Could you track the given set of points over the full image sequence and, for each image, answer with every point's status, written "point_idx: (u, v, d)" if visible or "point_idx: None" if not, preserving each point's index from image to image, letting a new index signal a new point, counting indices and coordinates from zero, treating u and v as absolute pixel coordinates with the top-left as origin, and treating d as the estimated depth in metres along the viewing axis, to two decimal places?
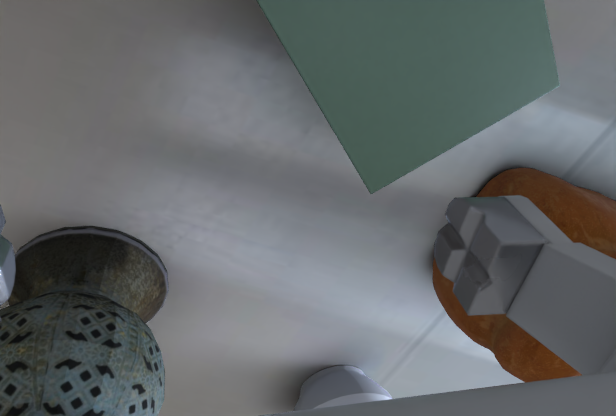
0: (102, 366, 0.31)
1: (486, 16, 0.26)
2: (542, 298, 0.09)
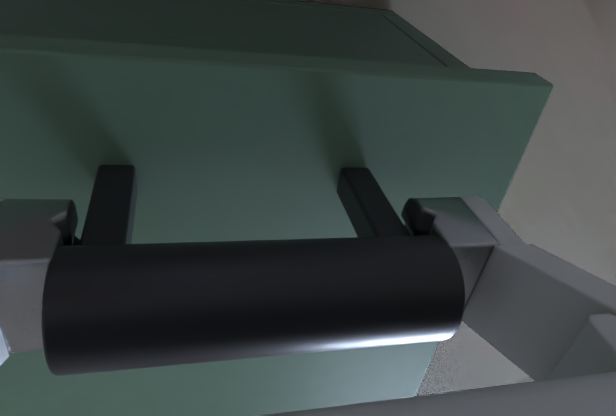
0: None
1: (335, 385, 0.16)
2: (494, 301, 0.08)
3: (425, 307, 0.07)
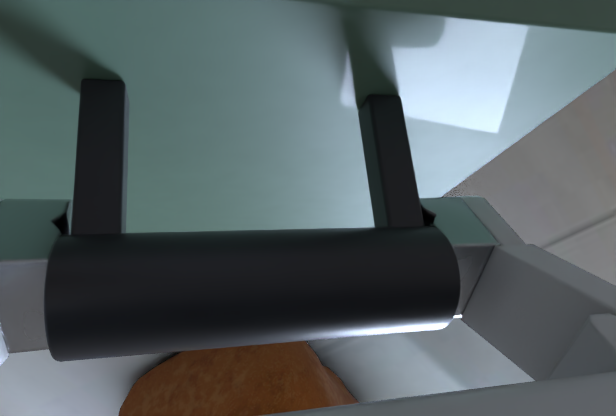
0: None
1: (322, 224, 0.17)
2: (494, 301, 0.08)
3: (414, 323, 0.08)
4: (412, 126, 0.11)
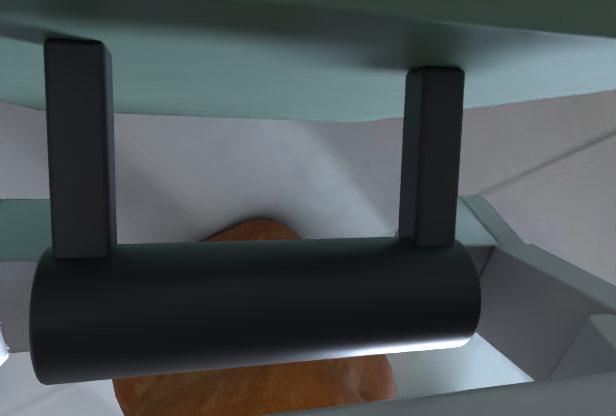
0: None
1: (337, 109, 0.15)
2: (494, 301, 0.08)
3: None
4: (468, 81, 0.08)
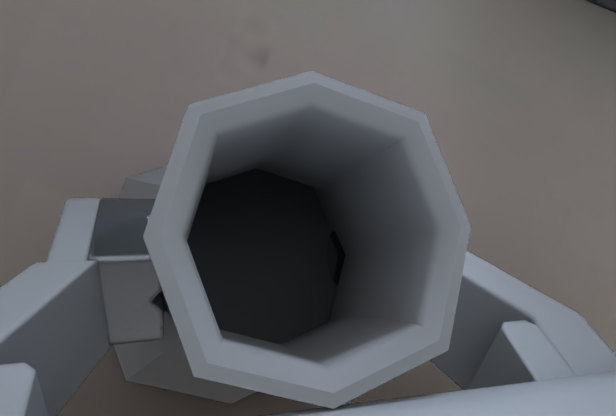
0: None
1: None
2: None
3: None
4: None
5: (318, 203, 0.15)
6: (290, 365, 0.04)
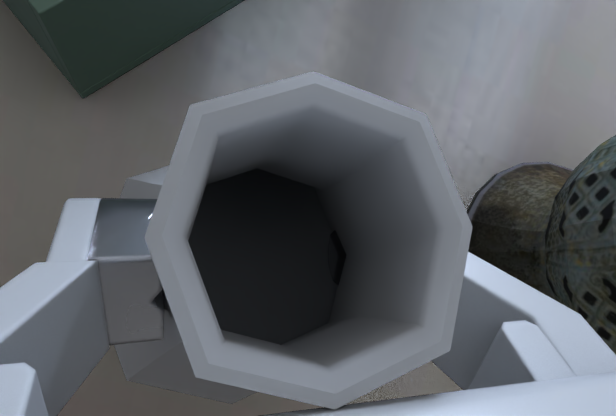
0: None
1: None
2: None
3: None
4: None
5: (319, 203, 0.15)
6: (291, 365, 0.04)
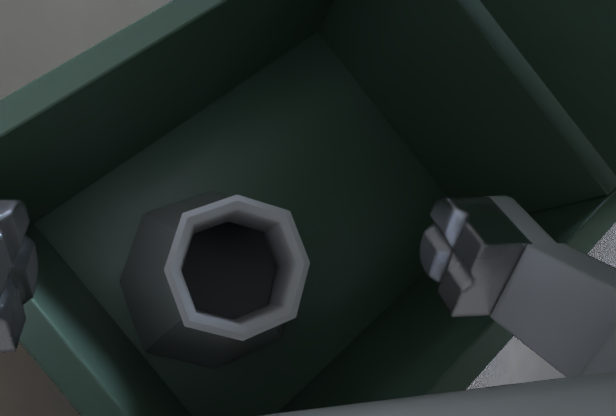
0: None
1: None
2: (525, 299, 0.09)
3: None
4: None
5: None
6: (225, 323, 0.10)
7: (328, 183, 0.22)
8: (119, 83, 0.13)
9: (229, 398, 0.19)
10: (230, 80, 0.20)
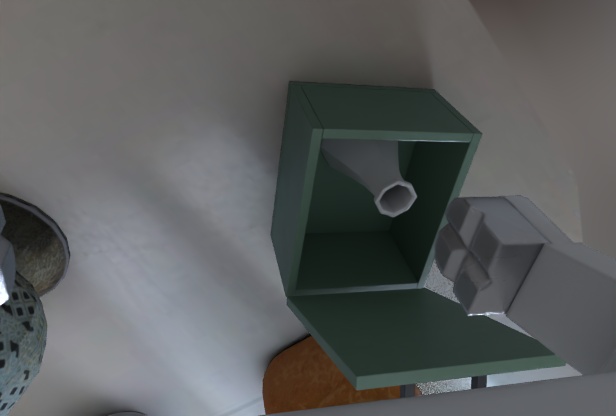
0: (15, 343, 0.33)
1: None
2: (542, 298, 0.09)
3: None
4: None
5: None
6: (389, 188, 0.36)
7: (343, 197, 0.48)
8: (445, 188, 0.41)
9: None
10: None
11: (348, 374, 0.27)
